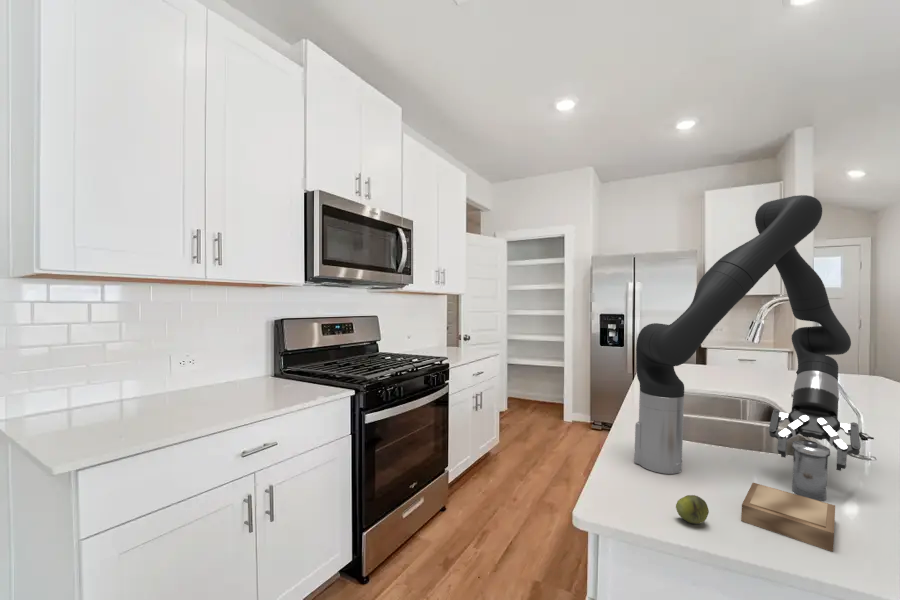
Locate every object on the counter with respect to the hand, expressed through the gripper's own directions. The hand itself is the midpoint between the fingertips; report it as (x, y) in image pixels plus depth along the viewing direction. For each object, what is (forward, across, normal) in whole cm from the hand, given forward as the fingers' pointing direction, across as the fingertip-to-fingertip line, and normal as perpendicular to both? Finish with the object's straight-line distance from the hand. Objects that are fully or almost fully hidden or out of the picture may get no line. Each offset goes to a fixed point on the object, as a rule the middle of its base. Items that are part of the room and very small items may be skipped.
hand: (810, 461), depth 83 cm
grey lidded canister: (+5, 0, +4) cm, 7 cm away
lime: (+26, -14, -16) cm, 33 cm away
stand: (+16, -2, -7) cm, 18 cm away
